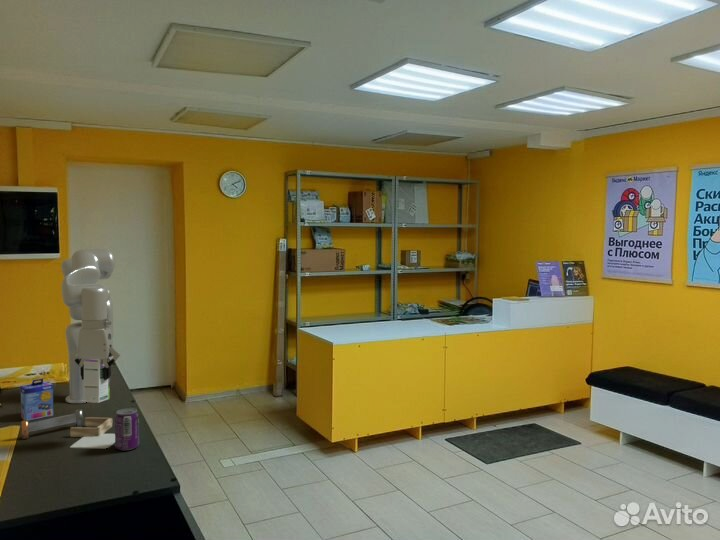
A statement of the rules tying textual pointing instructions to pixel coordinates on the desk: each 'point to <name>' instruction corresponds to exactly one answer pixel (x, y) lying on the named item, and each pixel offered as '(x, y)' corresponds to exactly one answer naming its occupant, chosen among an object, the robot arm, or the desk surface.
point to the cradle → (91, 422)
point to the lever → (52, 423)
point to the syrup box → (95, 382)
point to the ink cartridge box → (36, 400)
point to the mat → (95, 441)
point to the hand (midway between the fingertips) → (95, 378)
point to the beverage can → (126, 429)
